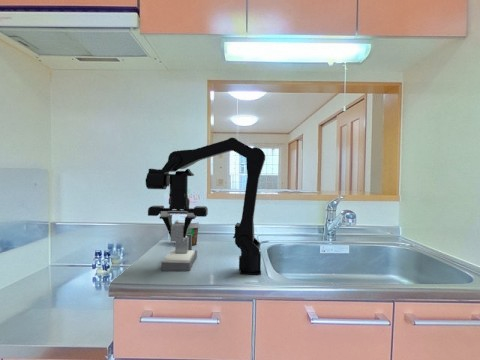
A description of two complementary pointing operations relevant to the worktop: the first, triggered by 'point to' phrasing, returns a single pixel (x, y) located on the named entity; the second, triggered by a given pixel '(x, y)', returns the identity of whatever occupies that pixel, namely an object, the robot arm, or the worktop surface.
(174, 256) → the scale
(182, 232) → the block
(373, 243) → the worktop surface
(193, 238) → the food container
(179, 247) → the block
